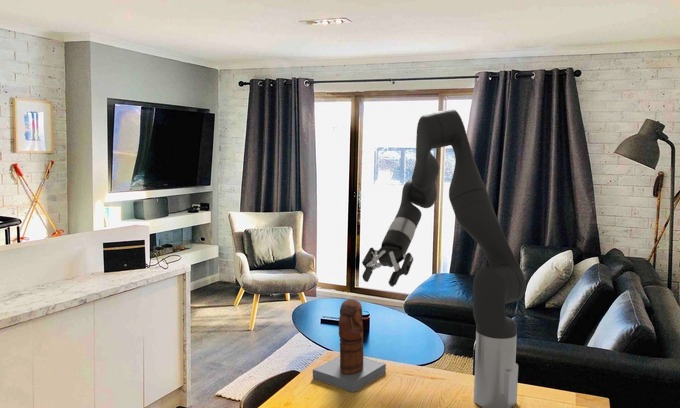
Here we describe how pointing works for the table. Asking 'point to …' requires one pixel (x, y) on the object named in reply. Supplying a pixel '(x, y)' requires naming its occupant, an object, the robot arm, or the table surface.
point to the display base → (349, 381)
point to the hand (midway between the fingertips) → (377, 282)
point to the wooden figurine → (351, 337)
